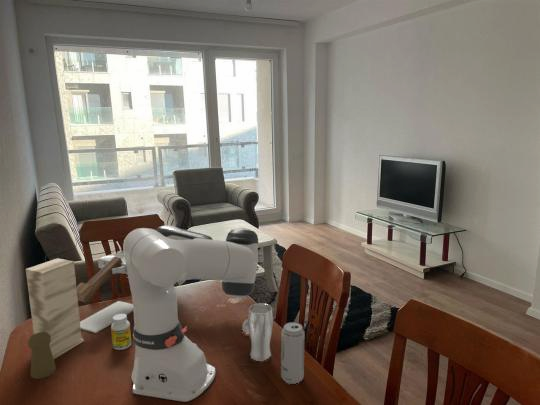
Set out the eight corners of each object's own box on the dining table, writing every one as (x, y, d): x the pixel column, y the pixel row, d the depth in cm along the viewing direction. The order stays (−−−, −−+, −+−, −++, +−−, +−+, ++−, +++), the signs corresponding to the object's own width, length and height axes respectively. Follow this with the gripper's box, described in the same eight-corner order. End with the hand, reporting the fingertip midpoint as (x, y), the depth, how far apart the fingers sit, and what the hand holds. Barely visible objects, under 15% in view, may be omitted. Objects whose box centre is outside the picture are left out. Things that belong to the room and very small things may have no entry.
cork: (37, 381, 101) (33, 343, 98) (26, 373, 104) (21, 336, 102) (60, 369, 106) (56, 332, 103) (48, 362, 109) (44, 326, 107)
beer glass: (277, 353, 113) (277, 306, 110) (264, 366, 107) (264, 316, 104) (257, 346, 117) (257, 300, 114) (243, 358, 111) (243, 310, 108)
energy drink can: (279, 372, 105) (279, 321, 102) (301, 370, 105) (302, 320, 102) (282, 387, 99) (283, 333, 96) (305, 385, 99) (306, 332, 97)
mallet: (124, 263, 137) (120, 255, 135) (85, 302, 123) (80, 293, 121) (116, 262, 138) (112, 253, 136) (77, 299, 125) (71, 291, 122)
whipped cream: (265, 339, 123) (267, 325, 122) (245, 341, 120) (247, 327, 119) (257, 325, 130) (259, 312, 129) (238, 327, 128) (240, 314, 126)
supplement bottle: (129, 339, 121) (127, 310, 119) (133, 347, 116) (131, 317, 115) (111, 344, 118) (108, 315, 116) (114, 352, 114) (112, 322, 112)
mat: (139, 307, 142) (139, 305, 142) (95, 333, 124) (95, 331, 124) (118, 302, 146) (118, 300, 146) (73, 326, 128) (73, 325, 128)
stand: (83, 341, 119) (75, 261, 114) (53, 359, 110) (43, 273, 105) (64, 335, 123) (55, 257, 118) (32, 352, 113) (22, 269, 108)
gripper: (157, 275, 141) (129, 284, 128) (116, 266, 149) (86, 274, 137) (158, 258, 140) (130, 266, 128) (116, 250, 149) (86, 256, 136)
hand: (107, 270), depth 132 cm, fingers closed on mallet, 3 cm apart
